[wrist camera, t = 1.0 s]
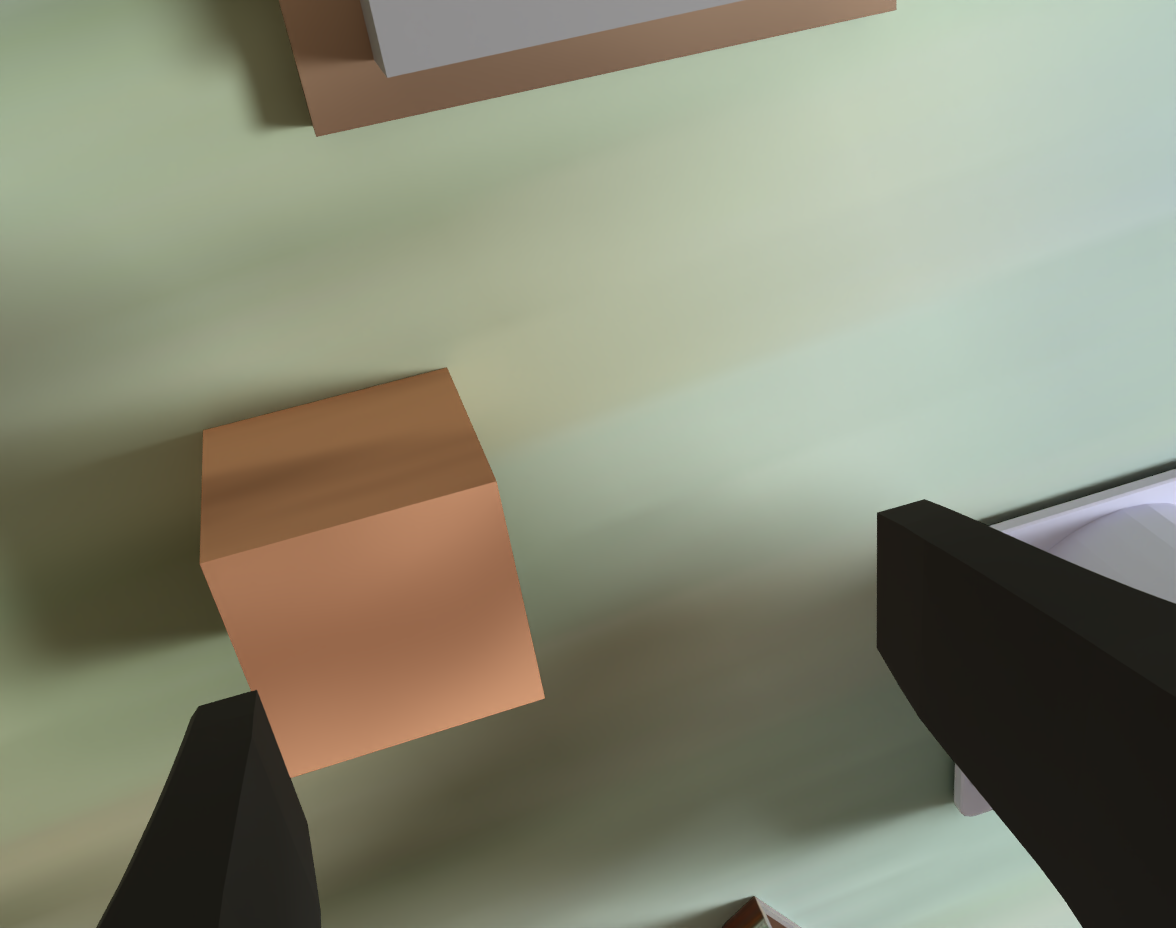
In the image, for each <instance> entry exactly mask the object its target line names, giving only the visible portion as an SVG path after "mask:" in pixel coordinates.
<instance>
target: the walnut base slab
mask: <svg viewBox="0 0 1176 928" xmlns="http://www.w3.org/2000/svg"><path fill="white" fill-rule="evenodd" d="M279 3H280V7H281V11H282V14H283V18H284V22H285V25H286V29H287V33H288V36H289V40H290V44H291V47H292V51H293V55H294V58H295V62H296V66H297V69H298V73H299V77H300V80H301V84H302V88H303V91H304V95H305V99H306V103H307V106H308V110H309V114H310V117H311V121H312V125H313V128H314V131H315V134H316V137H318V136H322V135H327V134H332V133H336V132H341V131H345V130H350V129H354V128H359V127H364V126H368V125H373V124H377V123H382V122H386V121H391V120H396V119H400V118H405V117H409V116H414V115H418V114H423V113H427V112H432V111H437V110H441V109H446V108H450V107H455V106H459V105H464V104H469V103H473V102H478V101H482V100H487V99H491V98H496V97H501V96H505V95H510V94H514V93H519V92H523V91H528V90H533V89H537V88H542V87H546V86H551V85H555V84H560V83H564V82H569V81H574V80H578V79H583V78H587V77H592V76H596V75H601V74H606V73H610V72H615V71H619V70H624V69H628V68H633V67H638V66H642V65H647V64H651V63H656V62H660V61H665V60H670V59H674V58H679V57H683V56H688V55H692V54H697V53H701V52H706V51H711V50H715V49H720V48H724V47H729V46H733V45H738V44H743V43H747V42H752V41H756V40H761V39H765V38H770V37H775V36H779V35H784V34H788V33H793V32H797V31H802V30H807V29H811V28H816V27H820V26H825V25H829V24H834V23H838V22H843V21H848V20H852V19H857V18H861V17H866V16H870V15H875V14H880V13H884V12H889V11H893V10H896V0H743V1H739V2H734V3H729V4H725V5H720V6H716V7H711V8H706V9H702V10H697V11H693V12H688V13H683V14H679V15H674V16H670V17H665V18H660V19H656V20H651V21H647V22H642V23H637V24H633V25H628V26H624V27H619V28H614V29H610V30H605V31H601V32H596V33H591V34H587V35H582V36H578V37H573V38H568V39H564V40H559V41H555V42H550V43H545V44H541V45H536V46H532V47H527V48H522V49H518V50H513V51H509V52H504V53H499V54H495V55H490V56H486V57H481V58H476V59H472V60H467V61H463V62H458V63H453V64H449V65H444V66H440V67H435V68H430V69H426V70H421V71H417V72H412V73H407V74H403V75H398V76H394V77H389V78H387V77H386V76H385V74H384V73H383V72H382V70H381V69H380V68H379V66H378V65H377V64H376V62H375V61H374V57H373V53H372V49H371V45H370V40H369V36H368V32H367V28H366V24H365V20H364V15H363V11H362V7H361V3H360V0H279Z"/></svg>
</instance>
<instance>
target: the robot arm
mask: <svg viewBox="0 0 1176 928" xmlns="http://www.w3.org/2000/svg"><path fill="white" fill-rule="evenodd" d="M877 649H878V651H879V652H880V654H881V656H882V657H883V659H884V661H885V663H886V664H887V666H888V668H889V669H890V671H891V673H892V674H893V676H894V678H895V680H896V681H897V683H898V685H899V686H900V688H901V690H902V691H903V693H904V694H905V696H906V698H907V699H908V701H909V702H910V704H911V705H912V707H913V709H914V710H915V712H916V713H917V715H918V717H919V718H920V719H921V721H922V722H923V723H924V724H925V726H926V727H927V728H928V730H929V731H930V732H931V733H932V735H933V736H934V737H935V738H936V740H937V741H938V742H939V743H940V745H941V746H942V747H943V748H944V750H945V751H946V752H947V753H948V755H949V756H950V757H951V758H952V760H953V761H954V762H955V780H954V803H955V806H956V807H957V808H958V810H959V811H960V812H961V813H962V814H963V815H964V816H976V815H979V814H982V813H985V812H988V811H990V810H994V811H995V812H996V814H997V815H998V816H999V817H1000V819H1001V820H1002V821H1003V822H1004V823H1005V825H1006V826H1007V827H1008V828H1009V830H1010V831H1011V832H1012V833H1013V834H1014V836H1015V837H1016V838H1017V839H1018V841H1019V842H1020V843H1021V844H1022V846H1023V847H1024V848H1025V849H1026V850H1027V852H1028V853H1029V854H1030V855H1031V857H1032V858H1033V859H1034V860H1035V861H1036V863H1037V864H1038V865H1039V866H1040V868H1041V869H1042V870H1043V872H1044V873H1045V875H1046V876H1047V877H1048V879H1049V880H1050V881H1051V883H1052V884H1053V885H1054V887H1055V888H1056V889H1057V891H1058V892H1059V893H1060V895H1061V896H1062V897H1063V899H1064V900H1065V902H1066V903H1067V904H1068V906H1069V908H1070V909H1071V911H1072V912H1073V914H1074V915H1075V917H1076V918H1077V920H1078V921H1079V923H1080V924H1081V926H1082V927H1083V928H1176V469H1173V470H1170V471H1167V472H1164V473H1160V474H1157V475H1154V476H1151V477H1147V478H1144V479H1141V480H1138V481H1134V482H1131V483H1128V484H1124V485H1121V486H1118V487H1115V488H1111V489H1108V490H1105V491H1102V492H1098V493H1095V494H1092V495H1089V496H1085V497H1082V498H1079V499H1076V500H1072V501H1069V502H1066V503H1062V504H1059V505H1056V506H1053V507H1049V508H1046V509H1043V510H1040V511H1036V512H1033V513H1030V514H1027V515H1023V516H1020V517H1017V518H1014V519H1010V520H1007V521H1004V522H1001V523H997V524H994V525H991V526H987V525H985V524H983V523H981V522H978V521H976V520H974V519H971V518H969V517H967V516H965V515H962V514H960V513H958V512H955V511H953V510H951V509H948V508H946V507H943V506H941V505H938V504H935V503H933V502H930V501H928V500H925V499H924V500H920V501H917V502H913V503H910V504H906V505H903V506H899V507H896V508H892V509H889V510H885V511H882V512H878V513H877ZM96 928H321V913H320V904H319V897H318V890H317V883H316V876H315V869H314V862H313V856H312V850H311V843H310V837H309V830H308V824H307V821H306V818H305V815H304V813H303V810H302V807H301V805H300V802H299V799H298V797H297V794H296V792H295V789H294V786H293V784H292V781H291V778H290V776H289V773H288V770H287V768H286V765H285V762H284V760H283V757H282V755H281V752H280V749H279V747H278V744H277V741H276V739H275V736H274V733H273V731H272V728H271V725H270V723H269V720H268V717H267V715H266V712H265V710H264V707H263V704H262V702H261V699H260V696H259V694H258V691H257V690H254V691H250V692H247V693H243V694H240V695H236V696H233V697H229V698H226V699H222V700H219V701H215V702H212V703H208V704H205V705H201V706H199V707H198V708H197V710H196V711H195V713H194V714H193V716H192V717H191V719H190V722H189V725H188V727H187V730H186V733H185V735H184V738H183V741H182V743H181V746H180V748H179V751H178V754H177V756H176V759H175V761H174V764H173V766H172V769H171V771H170V774H169V776H168V779H167V781H166V783H165V786H164V788H163V790H162V793H161V795H160V797H159V800H158V802H157V804H156V807H155V809H154V811H153V814H152V816H151V818H150V820H149V822H148V824H147V827H146V829H145V831H144V833H143V835H142V837H141V840H140V842H139V844H138V846H137V848H136V850H135V852H134V855H133V857H132V859H131V861H130V863H129V865H128V868H127V870H126V872H125V874H124V876H123V878H122V880H121V882H120V884H119V886H118V888H117V890H116V892H115V894H114V895H113V897H112V899H111V901H110V903H109V905H108V907H107V909H106V910H105V912H104V914H103V916H102V918H101V920H100V922H99V924H98V925H97V927H96Z"/></svg>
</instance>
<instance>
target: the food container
mask: <svg viewBox="0 0 1176 928" xmlns="http://www.w3.org/2000/svg"><path fill="white" fill-rule="evenodd" d="M722 928H801V927H800V926H798V925H797V924H795V923H794V922H792V921H791V920H789V919H788V918H786V917H785V916H783V915H782V914H780V913H779V912H777V911H776V910H774V909H773V908H771V907H770V906H768V905H767V904H765V903H764V902H763V901H761V900H760V899H758V898H757V897H755V896H754V897H753V898H752V899H751V900H750V901H748V902H747V903H746V904H745V905H744V906H743V907H742V908H741V909H740V910H739V911H738V912H737V913H736V914H735V915H734V916H732V917H731V918H730V919H729V920H728V921H727V922H726V923H725V924H724V926H723V927H722Z"/></svg>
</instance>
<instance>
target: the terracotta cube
mask: <svg viewBox="0 0 1176 928" xmlns="http://www.w3.org/2000/svg"><path fill="white" fill-rule="evenodd" d="M200 566H201V568H202V571H203V573H204V575H205V578H206V580H207V583H208V585H209V588H210V590H211V593H212V595H213V598H214V600H215V603H216V605H217V608H218V610H219V612H220V615H221V617H222V620H223V622H224V625H225V627H226V630H227V632H228V635H229V637H230V640H231V642H232V645H233V647H234V649H235V652H236V654H237V657H238V659H239V662H240V664H241V667H242V669H243V672H244V674H245V677H246V679H247V682H248V684H249V686H250V689H251V691H254V690H257V691H258V694H259V696H260V699H261V702H262V704H263V707H264V710H265V712H266V715H267V717H268V720H269V723H270V725H271V728H272V731H273V733H274V736H275V739H276V741H277V744H278V747H279V749H280V752H281V755H282V757H283V760H284V762H285V765H286V768H287V770H288V773H289V776H290V778H292V777H295V776H299V775H302V774H305V773H308V772H311V771H315V770H318V769H321V768H324V767H327V766H331V765H334V764H337V763H340V762H343V761H347V760H350V759H353V758H356V757H359V756H363V755H366V754H369V753H372V752H375V751H379V750H382V749H385V748H388V747H391V746H394V745H398V744H401V743H404V742H407V741H410V740H414V739H417V738H420V737H423V736H426V735H430V734H433V733H436V732H439V731H442V730H446V729H449V728H452V727H455V726H458V725H462V724H465V723H468V722H471V721H474V720H478V719H481V718H484V717H487V716H490V715H493V714H497V713H500V712H503V711H506V710H509V709H513V708H516V707H519V706H522V705H525V704H529V703H532V702H535V701H538V700H541V699H545V696H544V691H543V687H542V682H541V678H540V674H539V669H538V665H537V660H536V656H535V651H534V647H533V642H532V638H531V633H530V629H529V624H528V620H527V615H526V611H525V607H524V602H523V598H522V593H521V589H520V584H519V580H518V575H517V571H516V566H515V562H514V557H513V553H512V549H511V544H510V540H509V535H508V531H507V526H506V522H505V517H504V513H503V508H502V504H501V499H500V495H499V490H498V486H497V482H496V479H495V477H494V475H493V472H492V470H491V468H490V465H489V463H488V461H487V458H486V456H485V454H484V452H483V449H482V447H481V445H480V442H479V440H478V438H477V435H476V433H475V431H474V429H473V426H472V424H471V422H470V419H469V417H468V415H467V412H466V410H465V408H464V406H463V403H462V401H461V399H460V396H459V394H458V392H457V389H456V387H455V385H454V383H453V380H452V378H451V376H450V373H449V371H448V369H447V368H443V369H439V370H435V371H432V372H428V373H424V374H420V375H416V376H412V377H408V378H404V379H401V380H397V381H393V382H389V383H385V384H381V385H377V386H373V387H370V388H366V389H362V390H358V391H354V392H350V393H346V394H342V395H338V396H335V397H331V398H327V399H323V400H319V401H315V402H311V403H307V404H304V405H300V406H296V407H292V408H288V409H284V410H280V411H276V412H273V413H269V414H265V415H261V416H257V417H253V418H249V419H245V420H241V421H238V422H234V423H230V424H226V425H222V426H218V427H214V428H210V429H207V430H203V456H202V495H201V534H200Z"/></svg>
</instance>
